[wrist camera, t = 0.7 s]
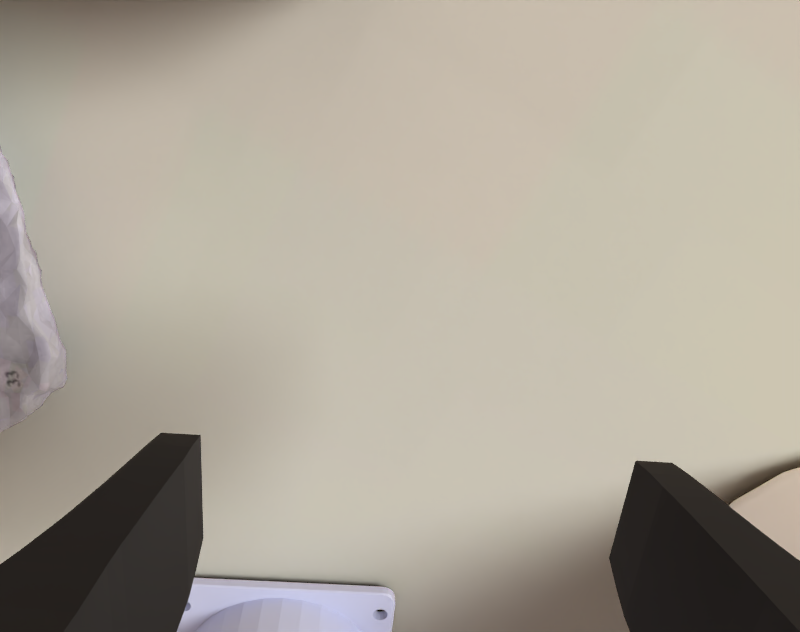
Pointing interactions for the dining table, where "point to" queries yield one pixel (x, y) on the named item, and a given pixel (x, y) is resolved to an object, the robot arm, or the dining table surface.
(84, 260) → the dining table surface
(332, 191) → the dining table surface
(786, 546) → the can
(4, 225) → the stone block
